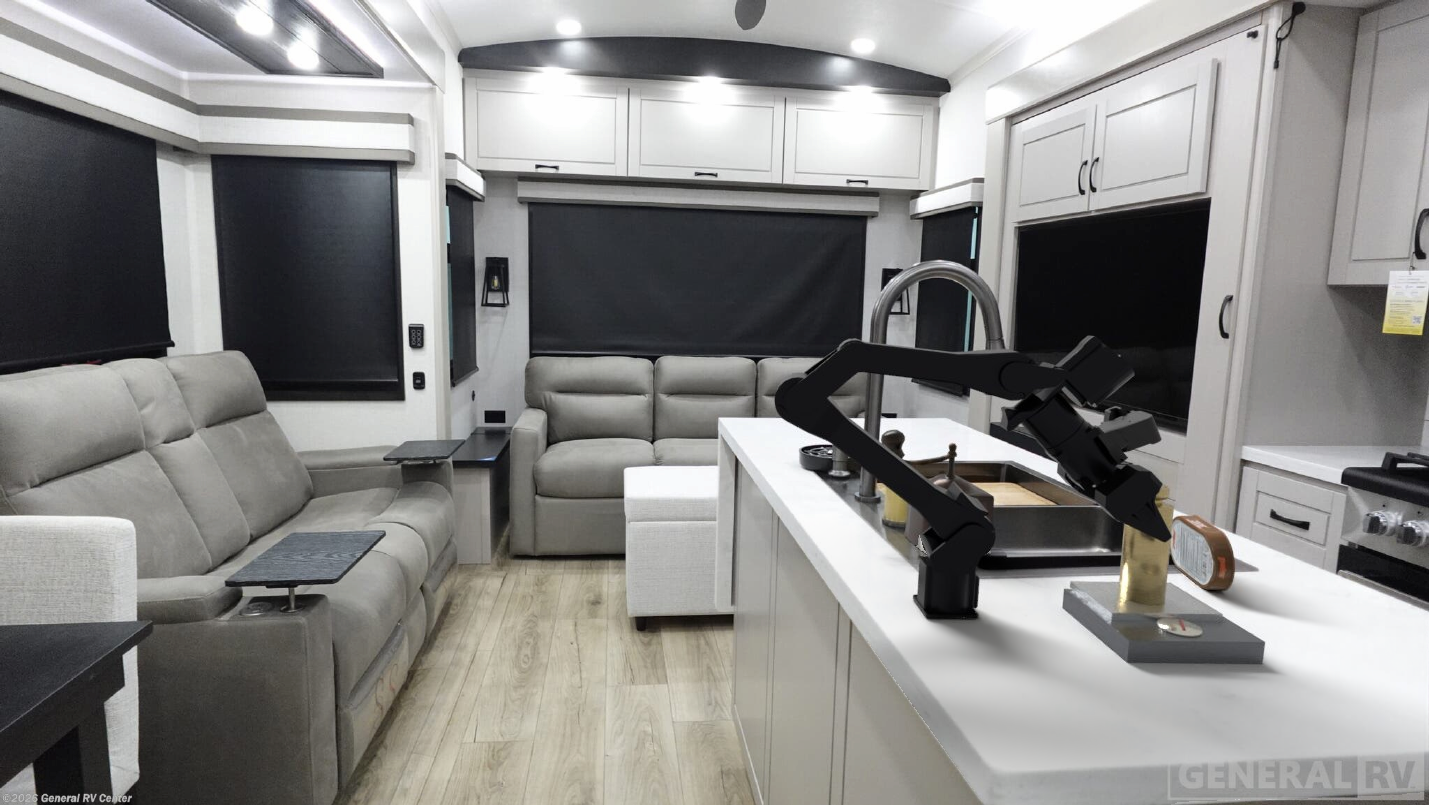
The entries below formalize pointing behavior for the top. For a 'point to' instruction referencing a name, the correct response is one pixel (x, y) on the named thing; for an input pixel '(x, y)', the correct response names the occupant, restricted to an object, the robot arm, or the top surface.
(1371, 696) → the top surface
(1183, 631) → the scale
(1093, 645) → the top surface
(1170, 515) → the weight
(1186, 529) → the tin
